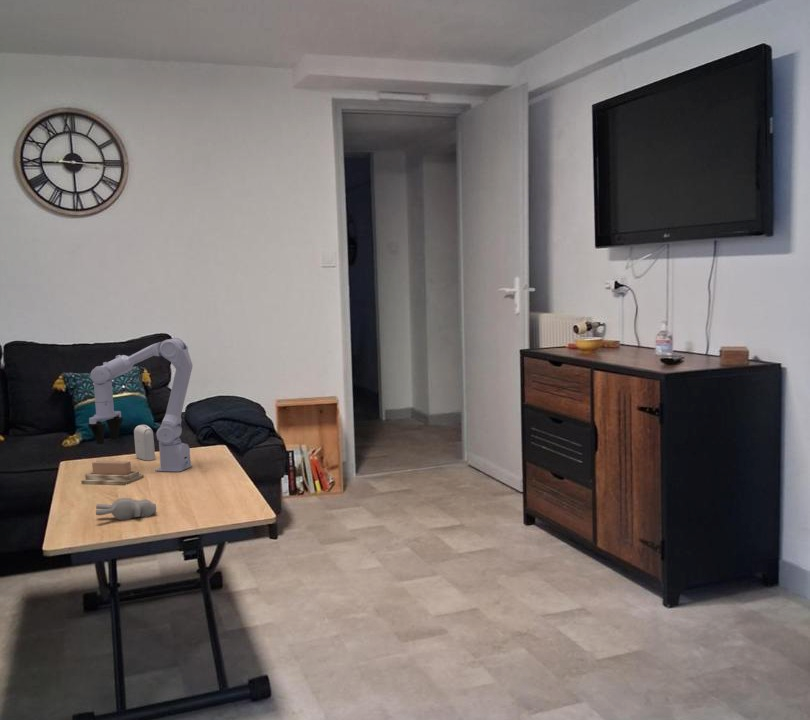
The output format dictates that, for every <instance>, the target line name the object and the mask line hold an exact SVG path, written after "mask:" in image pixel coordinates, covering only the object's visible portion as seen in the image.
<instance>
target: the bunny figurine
mask: <svg viewBox="0 0 810 720" xmlns="http://www.w3.org/2000/svg"><path fill="white" fill-rule="evenodd" d="M95 506H96V508H95V509H96V510H95V515H96V516H105V515H109V514H111V515H112V516H113V517H114V518H115V519H116V520H118V521H122V520H126V521H127V519H128V520H131V519H134V518H139V517H142V518H149V517H151V516H152V515H154V514H156V513H157V506H156V503H153V502H152V501H151V500H149V499H146V498H145V499H144V498H143V499H141V500H139V499H137V500H136V499H134V498H133V499H132V498H130V497H129V498H128V497H121V498H117V499H116V500H115V501H113V503H112V504H104V503H98V504H96V505H95Z"/></svg>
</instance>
